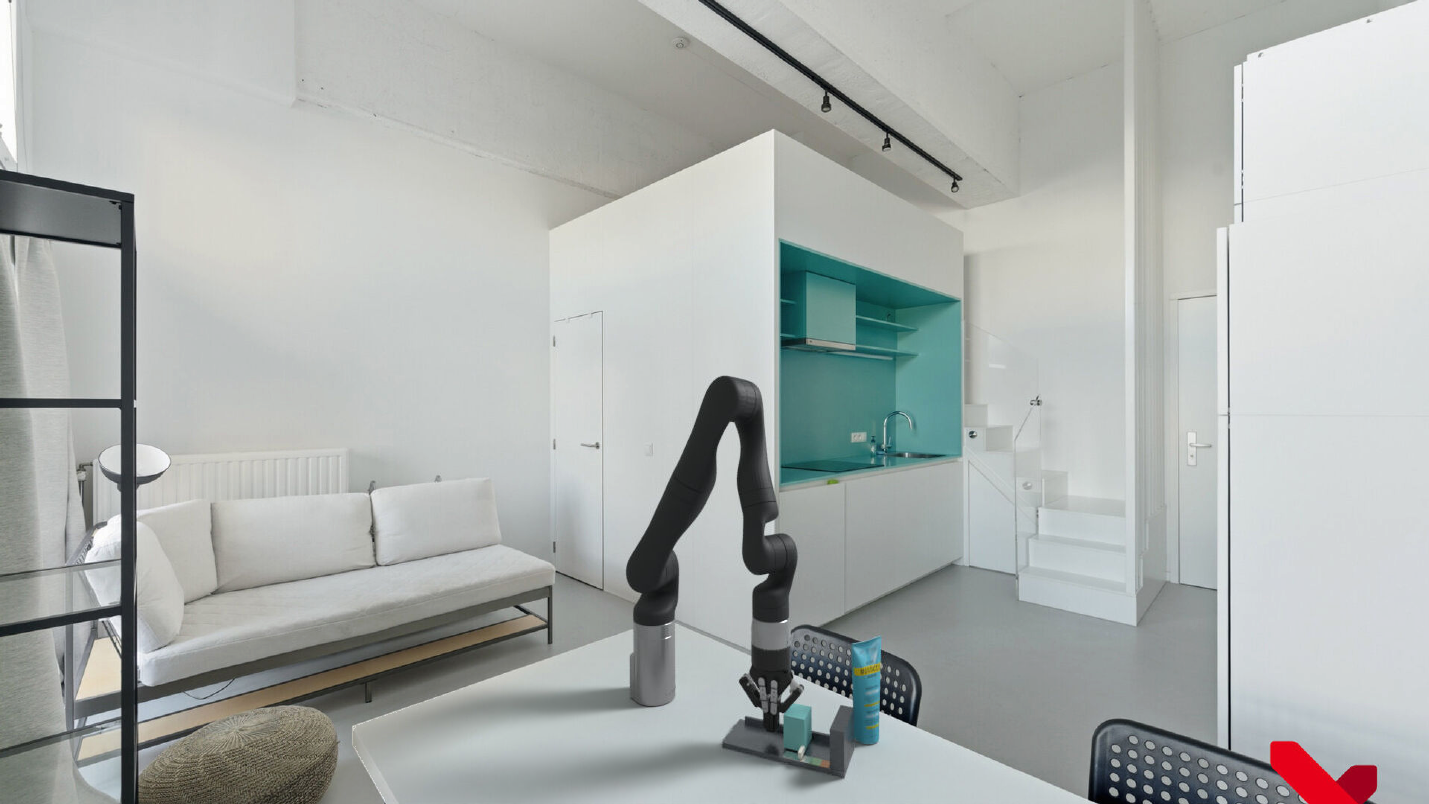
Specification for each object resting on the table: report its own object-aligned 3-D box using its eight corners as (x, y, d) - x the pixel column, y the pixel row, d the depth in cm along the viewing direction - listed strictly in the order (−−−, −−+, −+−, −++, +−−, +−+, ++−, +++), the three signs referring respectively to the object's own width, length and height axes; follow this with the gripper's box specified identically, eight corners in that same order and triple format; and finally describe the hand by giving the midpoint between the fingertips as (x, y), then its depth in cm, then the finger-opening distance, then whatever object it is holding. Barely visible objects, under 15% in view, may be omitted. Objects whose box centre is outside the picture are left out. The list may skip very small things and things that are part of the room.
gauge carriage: (779, 754, 108) (779, 721, 108) (791, 733, 115) (791, 702, 115) (801, 759, 107) (801, 726, 107) (811, 738, 113) (811, 706, 113)
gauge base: (722, 747, 113) (722, 705, 113) (739, 723, 121) (739, 684, 121) (844, 778, 103) (843, 732, 103) (854, 750, 112) (853, 707, 112)
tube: (862, 750, 112) (861, 647, 111) (843, 738, 116) (843, 639, 116) (889, 737, 116) (888, 638, 116) (870, 726, 120) (869, 630, 120)
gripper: (731, 641, 113) (731, 732, 113) (798, 653, 108) (799, 749, 108) (745, 627, 120) (746, 713, 120) (809, 638, 114) (810, 728, 115)
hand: (771, 730), depth 114 cm, fingers closed
